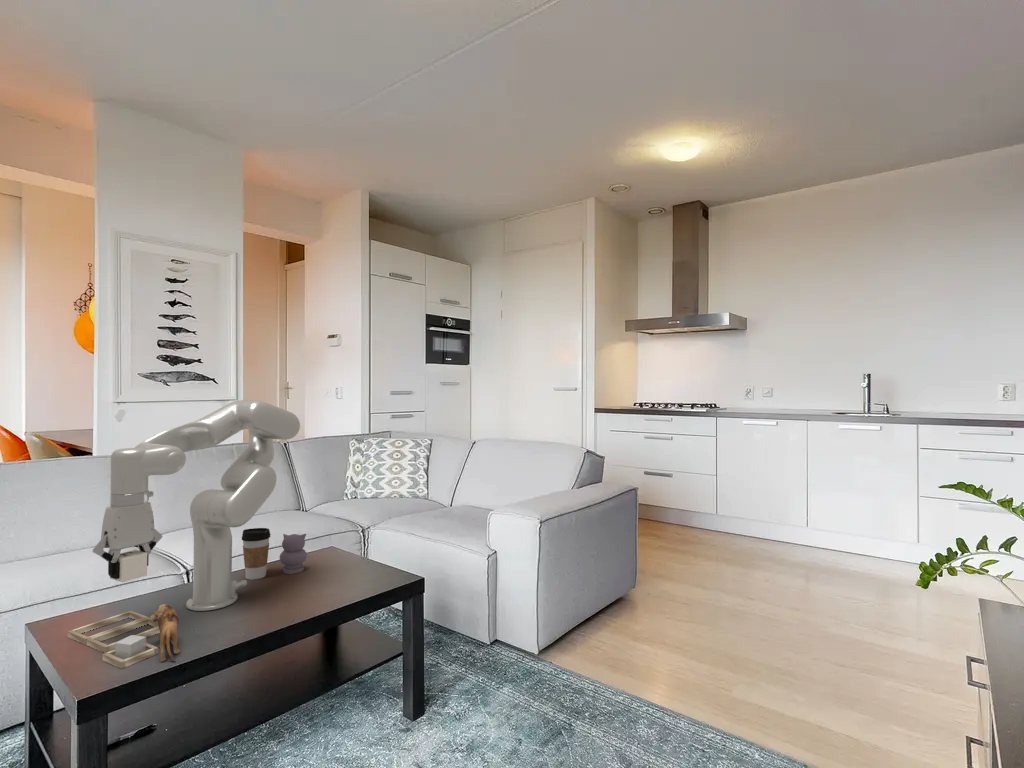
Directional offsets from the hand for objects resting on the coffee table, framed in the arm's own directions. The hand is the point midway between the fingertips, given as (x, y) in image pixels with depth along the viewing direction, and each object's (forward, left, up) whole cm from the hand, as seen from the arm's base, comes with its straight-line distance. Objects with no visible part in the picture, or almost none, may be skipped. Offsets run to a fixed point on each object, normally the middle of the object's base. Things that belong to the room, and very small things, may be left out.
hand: (128, 573), depth 133 cm
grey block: (+5, +11, -16) cm, 20 cm away
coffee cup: (-43, -10, -16) cm, 47 cm away
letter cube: (0, 0, -1) cm, 1 cm away
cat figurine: (-53, -4, -16) cm, 55 cm away
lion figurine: (-1, +15, -16) cm, 21 cm away
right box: (0, -8, -15) cm, 17 cm away
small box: (+5, +11, -15) cm, 20 cm away
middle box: (0, 0, -15) cm, 15 cm away
